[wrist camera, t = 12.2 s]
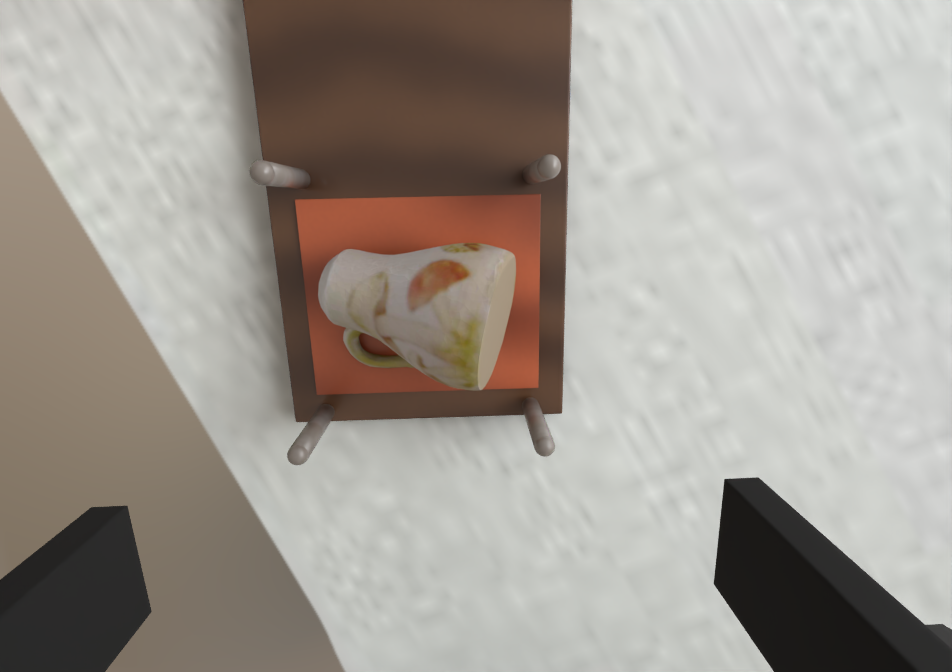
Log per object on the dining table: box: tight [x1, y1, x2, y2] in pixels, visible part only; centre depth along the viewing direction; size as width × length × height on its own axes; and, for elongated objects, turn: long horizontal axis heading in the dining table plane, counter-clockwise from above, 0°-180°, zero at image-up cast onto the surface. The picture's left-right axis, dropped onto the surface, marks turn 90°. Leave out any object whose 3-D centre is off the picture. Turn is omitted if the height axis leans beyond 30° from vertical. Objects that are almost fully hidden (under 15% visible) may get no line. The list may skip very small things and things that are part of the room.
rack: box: [243, 0, 572, 465], centre depth 24 cm, size 28×16×8 cm, turn 1°
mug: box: [318, 243, 516, 391], centre depth 25 cm, size 8×10×10 cm
